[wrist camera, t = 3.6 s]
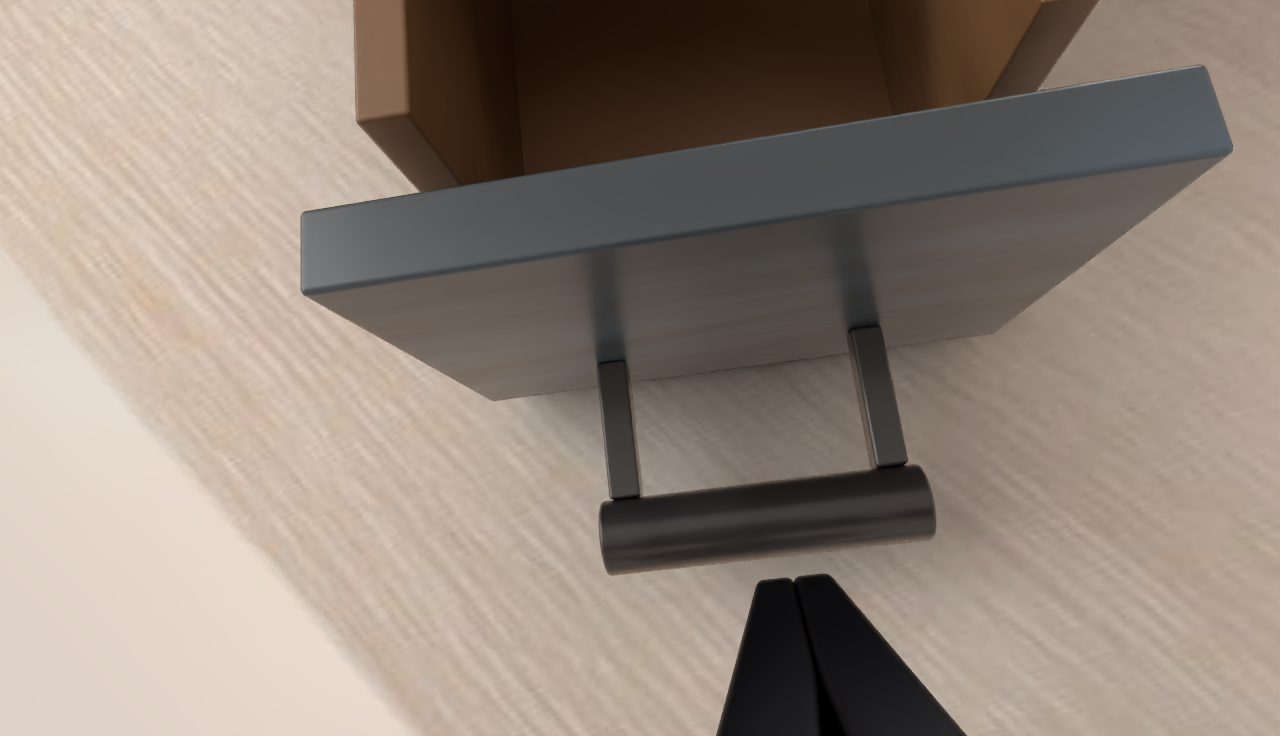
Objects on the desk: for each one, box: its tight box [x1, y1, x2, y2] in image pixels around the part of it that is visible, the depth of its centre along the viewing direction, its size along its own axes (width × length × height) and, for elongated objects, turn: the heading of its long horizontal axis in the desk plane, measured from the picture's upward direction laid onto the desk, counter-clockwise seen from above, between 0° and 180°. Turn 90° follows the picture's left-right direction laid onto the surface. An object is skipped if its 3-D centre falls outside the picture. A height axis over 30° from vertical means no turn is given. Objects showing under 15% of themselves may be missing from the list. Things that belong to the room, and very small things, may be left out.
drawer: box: [301, 0, 1233, 576], centre depth 14 cm, size 17×11×8 cm
